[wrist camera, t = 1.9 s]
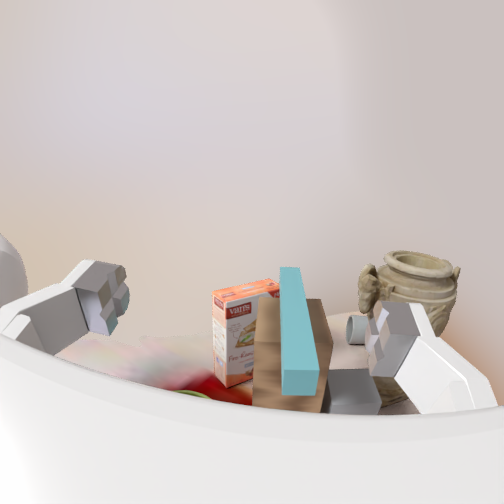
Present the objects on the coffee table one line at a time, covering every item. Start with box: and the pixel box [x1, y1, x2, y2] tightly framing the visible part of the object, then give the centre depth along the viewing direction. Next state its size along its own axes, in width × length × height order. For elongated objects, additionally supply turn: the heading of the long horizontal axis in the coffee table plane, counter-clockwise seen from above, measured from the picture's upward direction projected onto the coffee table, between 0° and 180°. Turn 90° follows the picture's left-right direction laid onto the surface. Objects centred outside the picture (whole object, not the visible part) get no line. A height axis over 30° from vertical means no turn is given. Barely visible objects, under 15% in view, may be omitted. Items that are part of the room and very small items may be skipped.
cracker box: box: [212, 279, 280, 388], centre depth 66 cm, size 14×6×21 cm, turn 124°
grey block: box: [320, 369, 382, 415], centre depth 44 cm, size 7×8×16 cm
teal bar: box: [279, 267, 320, 396], centre depth 38 cm, size 3×26×3 cm, turn 176°
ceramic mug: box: [346, 315, 369, 344], centre depth 81 cm, size 11×8×8 cm
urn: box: [358, 251, 460, 408], centre depth 57 cm, size 24×18×30 cm
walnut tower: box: [252, 297, 333, 413], centre depth 45 cm, size 9×12×26 cm
